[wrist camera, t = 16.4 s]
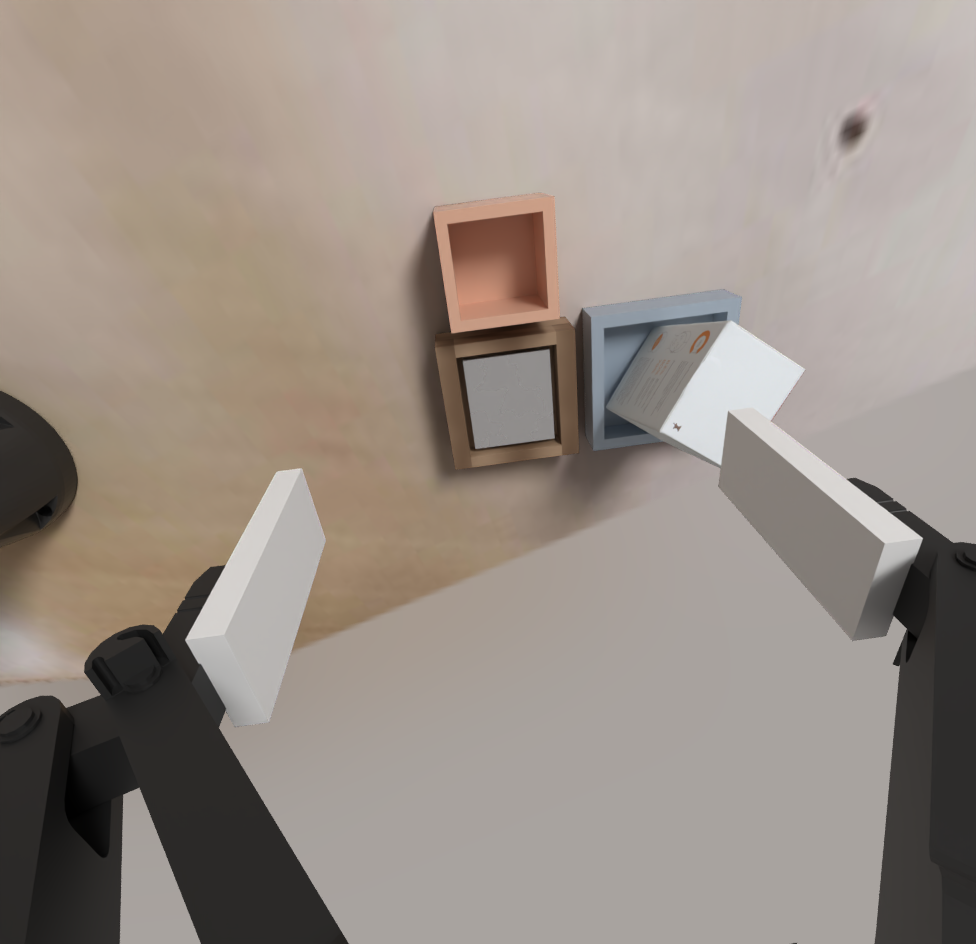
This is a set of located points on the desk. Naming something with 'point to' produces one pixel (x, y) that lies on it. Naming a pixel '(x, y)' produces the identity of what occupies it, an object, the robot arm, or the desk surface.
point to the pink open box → (499, 261)
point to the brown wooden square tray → (498, 340)
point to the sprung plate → (510, 396)
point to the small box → (701, 384)
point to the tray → (634, 353)
